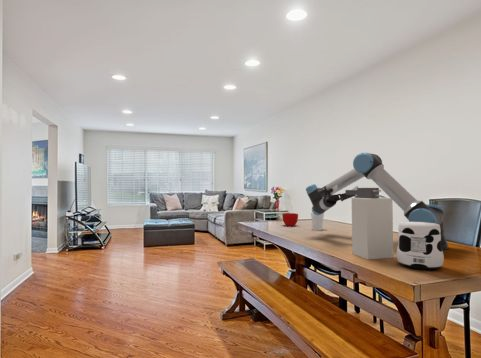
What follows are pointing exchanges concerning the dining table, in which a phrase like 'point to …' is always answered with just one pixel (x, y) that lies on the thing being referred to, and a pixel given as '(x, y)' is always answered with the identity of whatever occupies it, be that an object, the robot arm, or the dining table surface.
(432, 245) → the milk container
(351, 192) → the plug
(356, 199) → the pillar
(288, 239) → the dining table surface
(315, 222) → the foam cup
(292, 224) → the ceramic cup
